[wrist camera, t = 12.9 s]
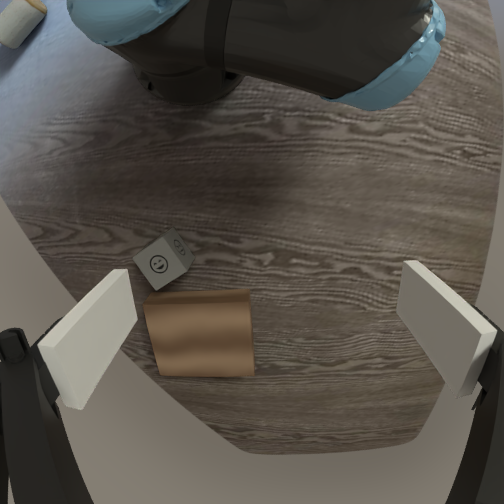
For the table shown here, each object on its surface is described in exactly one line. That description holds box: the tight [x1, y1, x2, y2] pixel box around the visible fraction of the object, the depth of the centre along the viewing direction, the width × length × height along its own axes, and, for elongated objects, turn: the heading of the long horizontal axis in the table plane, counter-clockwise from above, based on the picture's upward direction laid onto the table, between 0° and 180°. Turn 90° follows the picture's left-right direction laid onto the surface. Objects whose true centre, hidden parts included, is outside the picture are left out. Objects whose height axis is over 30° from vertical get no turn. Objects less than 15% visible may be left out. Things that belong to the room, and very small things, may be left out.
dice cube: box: [132, 227, 195, 291], centre depth 39 cm, size 5×5×5 cm
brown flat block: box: [143, 289, 255, 377], centre depth 43 cm, size 12×14×4 cm
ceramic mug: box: [0, 0, 47, 49], centre depth 26 cm, size 11×8×8 cm
